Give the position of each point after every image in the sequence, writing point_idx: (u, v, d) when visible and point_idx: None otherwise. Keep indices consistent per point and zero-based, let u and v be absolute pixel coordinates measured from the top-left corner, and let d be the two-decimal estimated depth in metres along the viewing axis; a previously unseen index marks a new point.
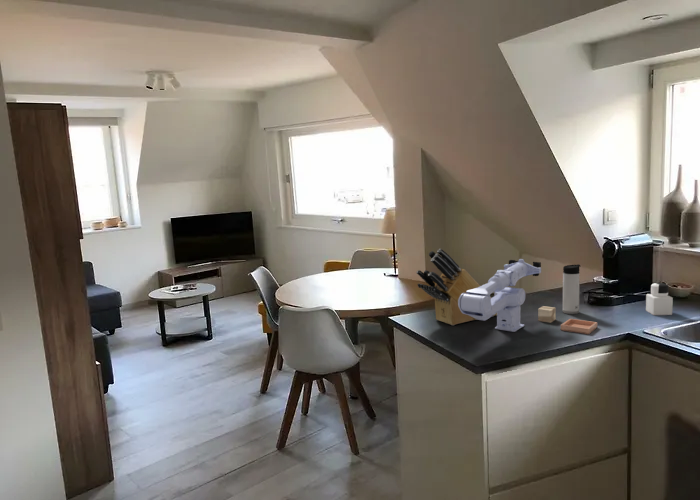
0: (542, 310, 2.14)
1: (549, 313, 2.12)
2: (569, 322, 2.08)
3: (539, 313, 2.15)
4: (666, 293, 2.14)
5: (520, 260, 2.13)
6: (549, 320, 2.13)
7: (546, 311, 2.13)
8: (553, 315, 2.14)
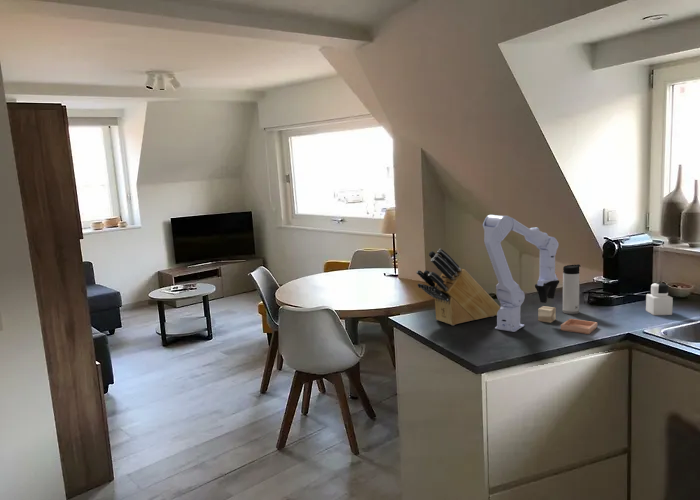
0: (542, 310, 2.14)
1: (549, 313, 2.12)
2: (569, 322, 2.08)
3: (539, 313, 2.15)
4: (666, 293, 2.14)
5: (556, 278, 2.11)
6: (549, 320, 2.13)
7: (546, 311, 2.13)
8: (553, 315, 2.14)
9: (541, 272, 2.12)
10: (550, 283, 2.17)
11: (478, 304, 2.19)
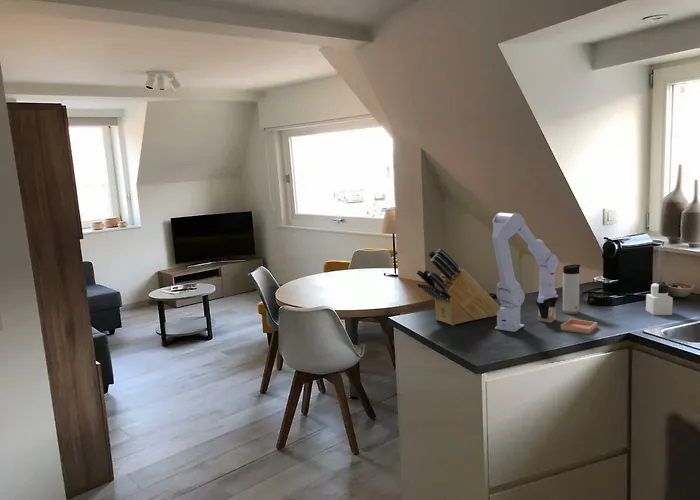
0: None
1: (549, 313, 2.12)
2: (569, 322, 2.08)
3: (539, 313, 2.15)
4: (666, 293, 2.14)
5: (556, 295, 2.12)
6: (549, 320, 2.13)
7: None
8: (553, 315, 2.14)
9: (541, 289, 2.13)
10: (549, 300, 2.17)
11: (478, 304, 2.19)
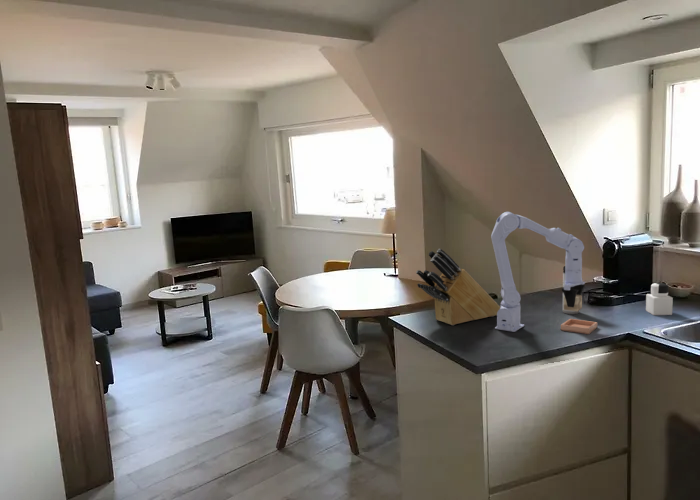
0: None
1: (576, 301, 2.01)
2: (569, 322, 2.08)
3: (565, 302, 2.04)
4: (666, 293, 2.14)
5: (583, 282, 2.01)
6: (575, 308, 2.01)
7: None
8: (580, 303, 2.03)
9: (567, 275, 2.02)
10: (575, 288, 2.05)
11: (478, 304, 2.19)
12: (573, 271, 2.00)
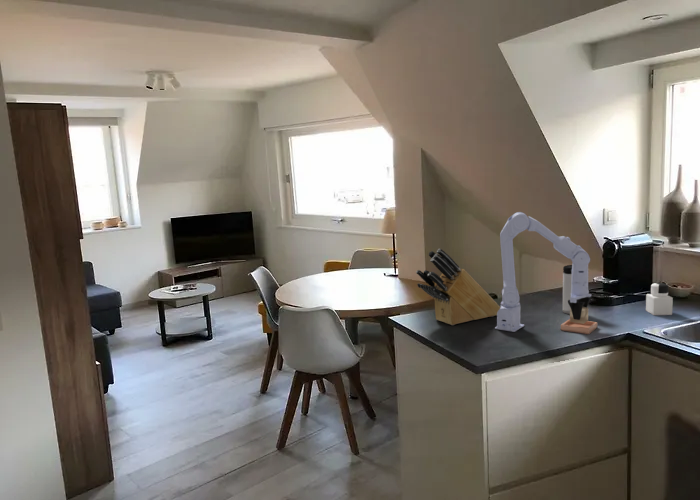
0: None
1: (582, 314, 1.99)
2: (569, 322, 2.08)
3: (571, 314, 2.02)
4: (666, 293, 2.14)
5: (589, 294, 1.99)
6: (582, 321, 1.99)
7: None
8: (586, 315, 2.01)
9: (573, 288, 2.00)
10: (581, 300, 2.04)
11: (478, 304, 2.19)
12: (579, 283, 1.98)
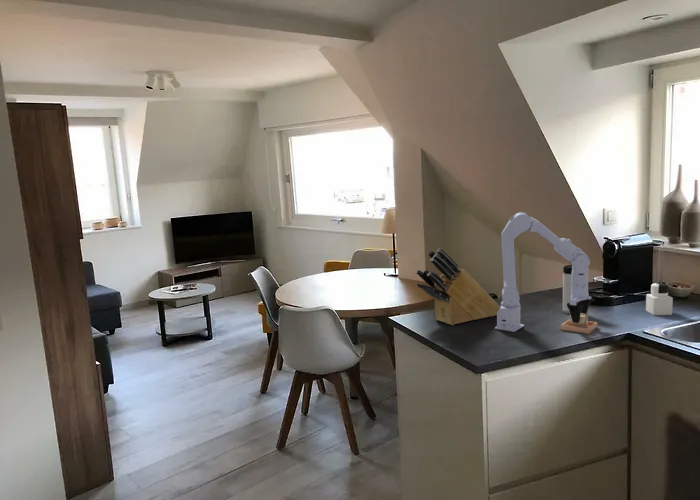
0: None
1: (582, 320, 1.99)
2: (569, 322, 2.08)
3: (571, 320, 2.02)
4: (666, 293, 2.14)
5: (589, 296, 1.99)
6: (582, 327, 2.00)
7: None
8: (586, 322, 2.01)
9: (573, 290, 2.00)
10: (582, 301, 2.04)
11: (478, 304, 2.19)
12: (579, 286, 1.98)
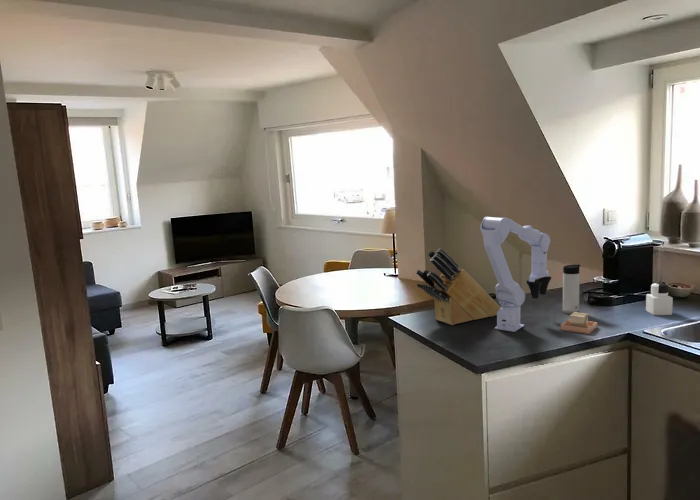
0: (574, 316, 2.01)
1: (582, 320, 1.99)
2: (569, 322, 2.08)
3: (571, 320, 2.02)
4: (666, 293, 2.14)
5: (548, 274, 2.13)
6: (582, 327, 2.00)
7: (579, 317, 2.00)
8: (586, 322, 2.01)
9: (533, 268, 2.14)
10: (542, 279, 2.18)
11: (478, 304, 2.19)
12: (538, 264, 2.12)
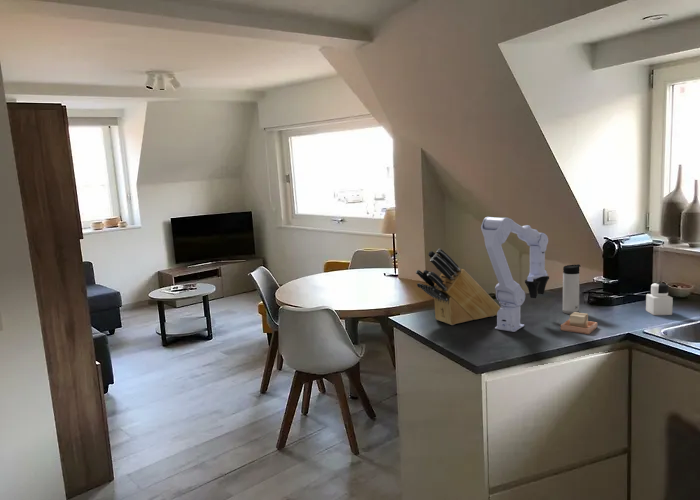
0: (574, 316, 2.01)
1: (582, 320, 1.99)
2: (569, 322, 2.08)
3: (571, 320, 2.02)
4: (666, 293, 2.14)
5: (546, 274, 2.14)
6: (582, 327, 2.00)
7: (579, 317, 2.00)
8: (586, 322, 2.01)
9: (531, 268, 2.14)
10: (540, 279, 2.19)
11: (478, 304, 2.19)
12: (536, 264, 2.12)
